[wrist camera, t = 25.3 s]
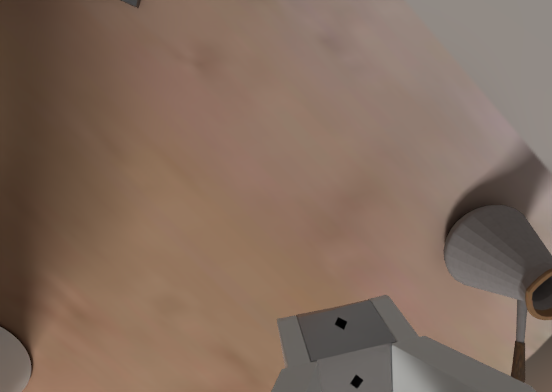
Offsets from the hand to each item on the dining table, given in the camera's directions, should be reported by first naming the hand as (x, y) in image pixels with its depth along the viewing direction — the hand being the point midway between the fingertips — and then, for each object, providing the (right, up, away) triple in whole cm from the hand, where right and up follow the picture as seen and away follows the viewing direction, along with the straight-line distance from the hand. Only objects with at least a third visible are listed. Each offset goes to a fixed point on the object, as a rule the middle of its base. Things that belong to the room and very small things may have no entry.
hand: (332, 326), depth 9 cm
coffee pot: (+24, -7, +40) cm, 47 cm away
